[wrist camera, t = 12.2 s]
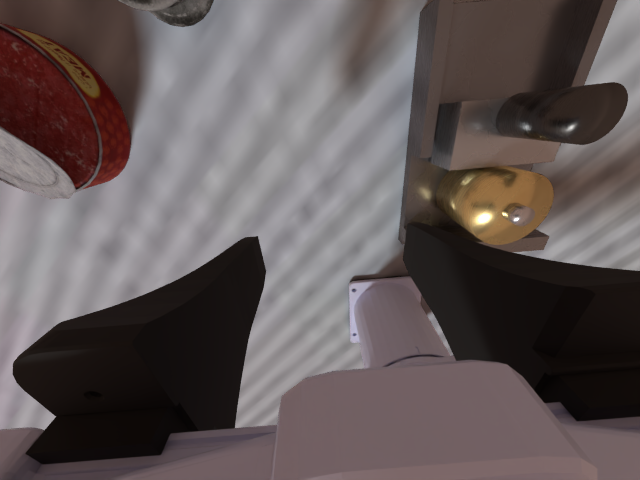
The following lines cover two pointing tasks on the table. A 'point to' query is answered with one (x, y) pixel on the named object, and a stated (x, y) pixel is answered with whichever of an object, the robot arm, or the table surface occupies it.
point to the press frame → (490, 79)
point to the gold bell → (495, 201)
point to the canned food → (56, 118)
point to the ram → (524, 125)
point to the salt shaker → (174, 10)
